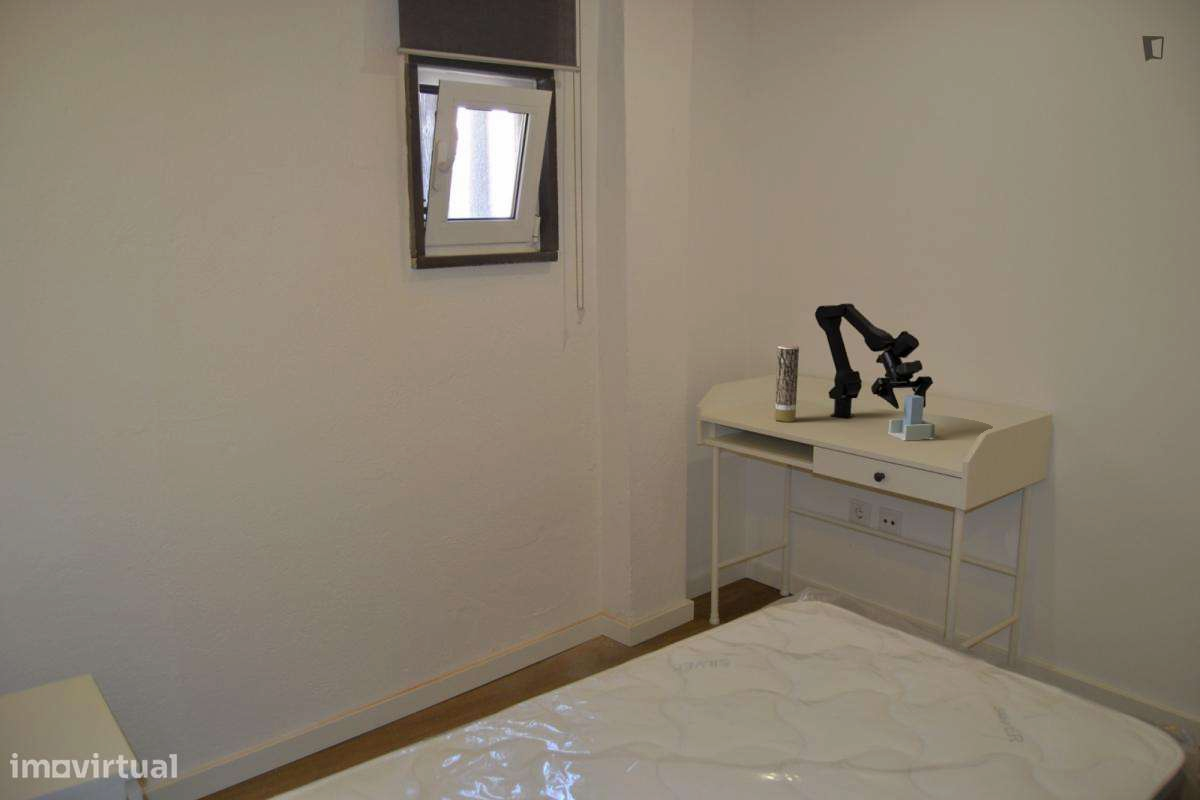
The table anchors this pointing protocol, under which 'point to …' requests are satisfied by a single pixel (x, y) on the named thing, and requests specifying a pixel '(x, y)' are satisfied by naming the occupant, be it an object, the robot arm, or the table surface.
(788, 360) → the paper tube
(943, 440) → the table surface
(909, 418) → the peg
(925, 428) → the slot bay
